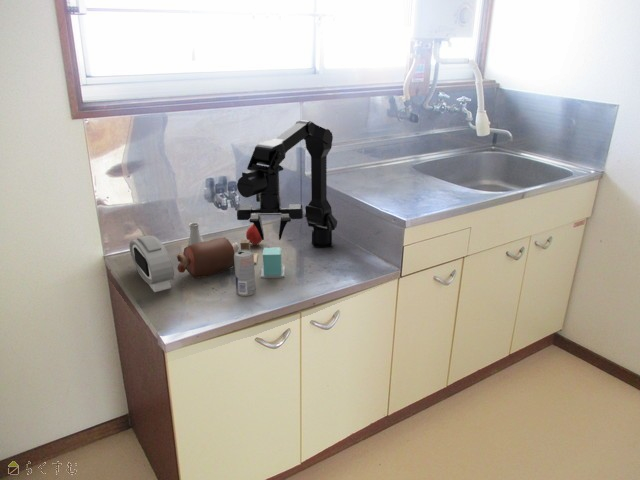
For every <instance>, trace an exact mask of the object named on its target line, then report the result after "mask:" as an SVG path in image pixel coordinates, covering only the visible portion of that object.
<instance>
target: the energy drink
mask: <svg viewBox="0 0 640 480" xmlns="http://www.w3.org/2000/svg"><path fill="white" fill-rule="evenodd" d="M253 254H254V252H253V251H252V250H251V249H250V250H241V249H238V251H236V252H235V255H234V264H235V265H234V273H235V275H234V276H235V277H234V278H235V290H236V294H237V295H238V296H241V297H249V296H252V295H254V294H255V293H256V289H257V288H256V274H255V272H256V271H255V264H254V255H253Z"/></svg>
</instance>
